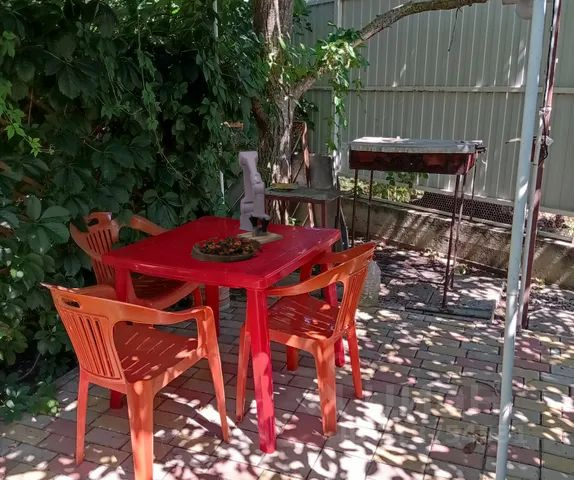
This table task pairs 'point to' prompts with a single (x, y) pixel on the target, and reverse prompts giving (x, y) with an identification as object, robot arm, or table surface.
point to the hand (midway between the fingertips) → (259, 231)
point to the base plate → (262, 239)
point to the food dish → (226, 250)
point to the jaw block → (259, 231)
